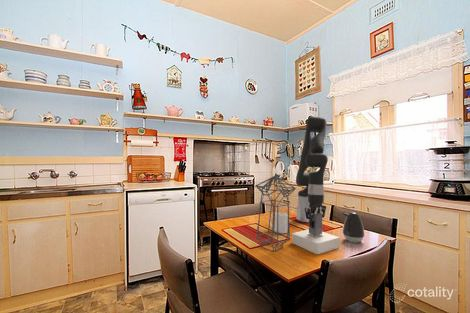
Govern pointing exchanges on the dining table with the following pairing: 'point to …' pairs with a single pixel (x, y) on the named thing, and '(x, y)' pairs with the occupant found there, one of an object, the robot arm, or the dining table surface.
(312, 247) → the socket block
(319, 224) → the plug
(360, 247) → the dining table surface
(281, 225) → the mug
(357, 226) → the dark grey rounded cone
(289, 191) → the geometric lantern
